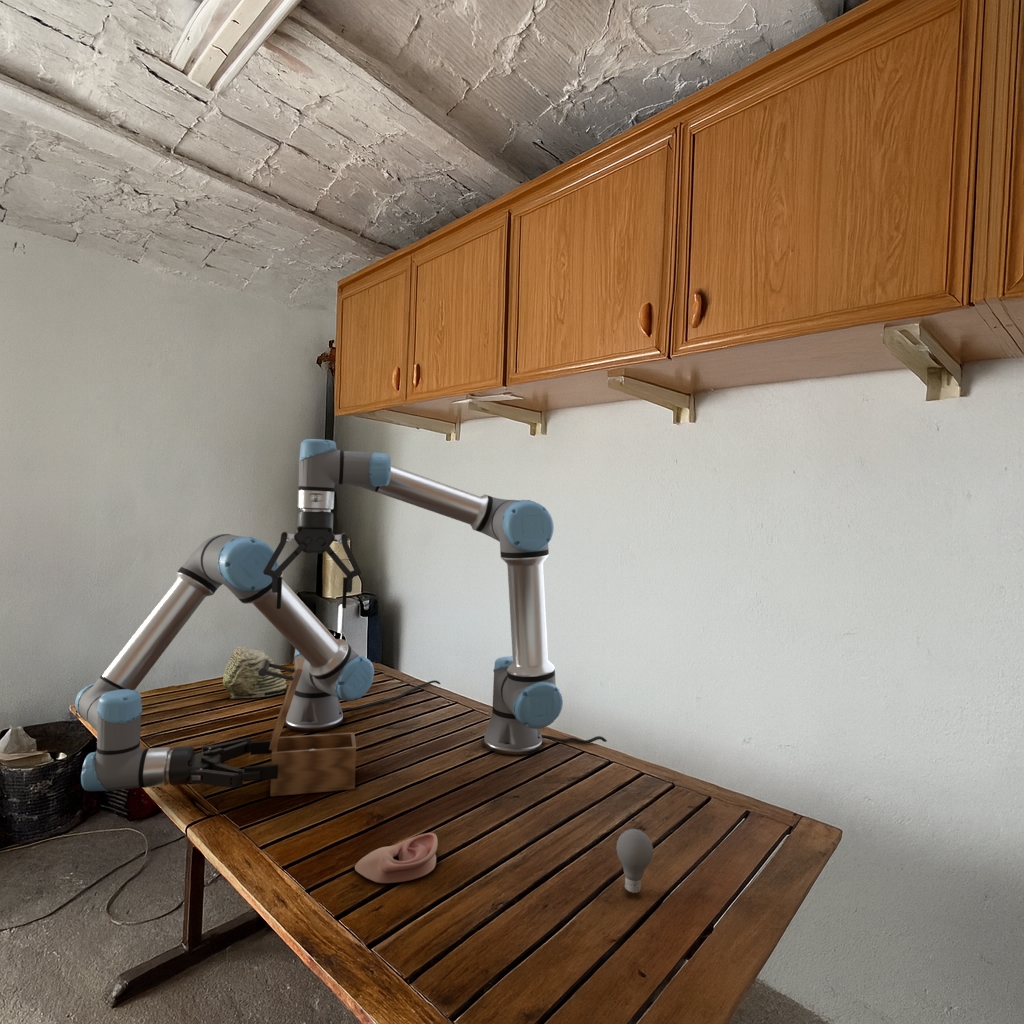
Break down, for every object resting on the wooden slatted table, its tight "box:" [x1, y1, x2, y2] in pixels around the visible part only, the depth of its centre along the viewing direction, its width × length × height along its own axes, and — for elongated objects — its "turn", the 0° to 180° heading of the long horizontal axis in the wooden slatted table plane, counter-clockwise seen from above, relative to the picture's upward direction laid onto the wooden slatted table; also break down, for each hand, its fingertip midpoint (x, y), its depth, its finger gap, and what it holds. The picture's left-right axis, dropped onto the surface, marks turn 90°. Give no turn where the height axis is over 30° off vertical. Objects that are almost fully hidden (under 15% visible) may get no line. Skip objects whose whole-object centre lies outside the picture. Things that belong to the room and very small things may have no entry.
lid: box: [258, 658, 304, 751], centre depth 137 cm, size 18×9×8 cm
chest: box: [269, 731, 357, 797], centre depth 140 cm, size 17×9×9 cm, turn 107°
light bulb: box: [615, 828, 654, 894], centre depth 106 cm, size 6×6×10 cm
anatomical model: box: [354, 832, 439, 884], centre depth 110 cm, size 13×4×12 cm
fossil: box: [222, 646, 288, 699], centre depth 198 cm, size 9×18×15 cm, turn 132°
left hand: (280, 758), depth 138 cm, fingers open, 13 cm apart
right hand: (311, 607), depth 139 cm, fingers open, 13 cm apart
